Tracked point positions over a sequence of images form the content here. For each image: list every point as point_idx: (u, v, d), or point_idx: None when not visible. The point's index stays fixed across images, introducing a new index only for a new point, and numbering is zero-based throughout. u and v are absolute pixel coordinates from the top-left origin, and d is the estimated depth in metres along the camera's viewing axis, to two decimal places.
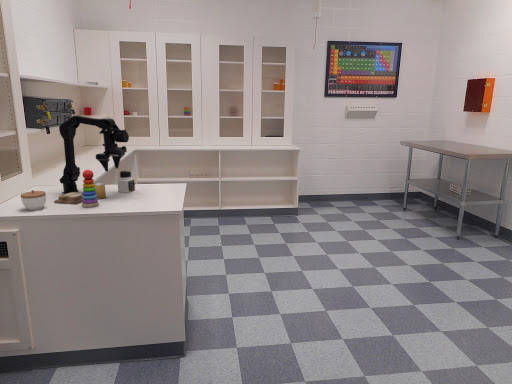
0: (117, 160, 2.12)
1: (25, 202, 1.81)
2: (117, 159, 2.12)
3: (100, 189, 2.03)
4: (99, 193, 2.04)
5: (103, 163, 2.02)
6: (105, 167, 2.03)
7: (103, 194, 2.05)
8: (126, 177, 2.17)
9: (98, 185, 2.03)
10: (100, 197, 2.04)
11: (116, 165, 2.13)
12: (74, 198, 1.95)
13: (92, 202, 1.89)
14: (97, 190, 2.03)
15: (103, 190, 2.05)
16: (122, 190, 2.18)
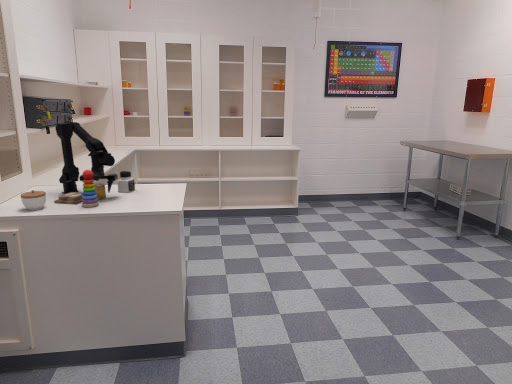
0: None
1: (25, 202, 1.81)
2: None
3: (100, 189, 2.03)
4: (99, 193, 2.04)
5: None
6: None
7: (103, 194, 2.05)
8: (126, 177, 2.17)
9: (98, 185, 2.03)
10: (100, 197, 2.04)
11: None
12: (74, 198, 1.95)
13: (92, 202, 1.89)
14: (97, 190, 2.03)
15: (103, 190, 2.05)
16: (122, 190, 2.18)
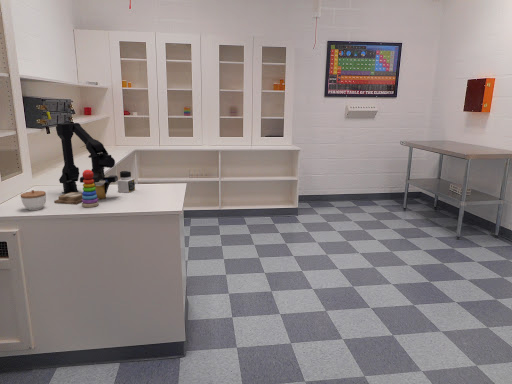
0: None
1: (25, 202, 1.81)
2: None
3: (100, 189, 2.03)
4: (99, 193, 2.04)
5: None
6: None
7: (103, 194, 2.05)
8: (126, 177, 2.17)
9: (98, 185, 2.03)
10: (100, 197, 2.04)
11: None
12: (74, 198, 1.95)
13: (92, 202, 1.89)
14: (97, 190, 2.03)
15: (103, 190, 2.05)
16: (122, 190, 2.18)
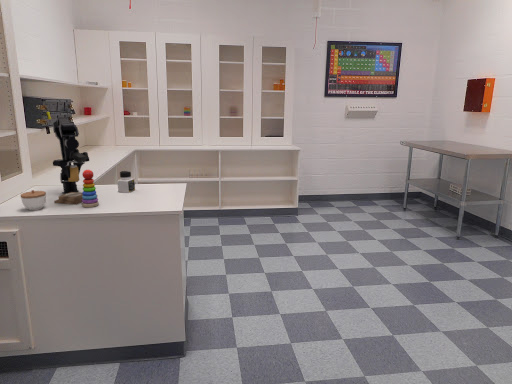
0: (78, 167, 2.00)
1: (25, 202, 1.81)
2: (78, 166, 2.00)
3: (77, 170, 1.98)
4: (77, 175, 1.98)
5: (65, 169, 1.94)
6: (67, 173, 1.95)
7: (78, 175, 2.00)
8: (126, 177, 2.17)
9: (75, 166, 1.96)
10: (78, 179, 1.98)
11: None
12: (74, 198, 1.95)
13: (92, 202, 1.89)
14: (75, 172, 1.96)
15: None
16: (122, 190, 2.18)
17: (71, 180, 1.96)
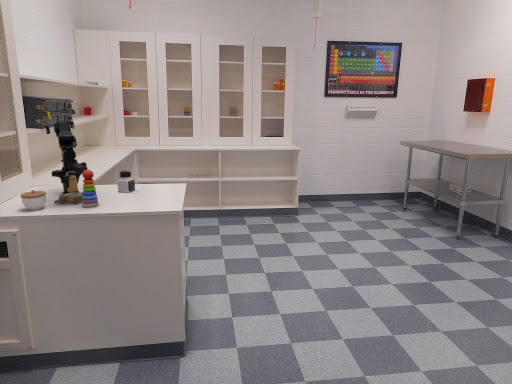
0: None
1: (25, 202, 1.81)
2: (76, 176, 2.01)
3: (76, 180, 1.99)
4: (76, 185, 1.99)
5: (63, 179, 1.95)
6: (65, 183, 1.95)
7: None
8: (126, 177, 2.17)
9: (74, 177, 1.97)
10: (77, 189, 1.99)
11: None
12: (74, 198, 1.95)
13: (92, 202, 1.89)
14: (74, 182, 1.97)
15: None
16: (122, 190, 2.18)
17: (70, 190, 1.97)
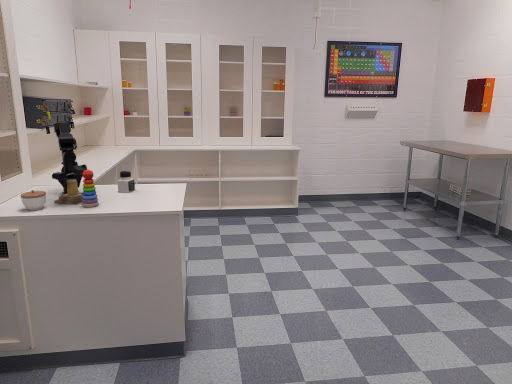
0: (78, 179, 2.02)
1: (25, 202, 1.81)
2: (78, 178, 2.02)
3: (76, 184, 1.99)
4: (76, 189, 1.99)
5: (62, 182, 1.94)
6: (64, 186, 1.95)
7: (77, 189, 2.01)
8: (126, 177, 2.17)
9: (74, 181, 1.98)
10: (77, 193, 2.00)
11: (77, 184, 2.03)
12: (74, 198, 1.95)
13: (92, 202, 1.89)
14: (74, 186, 1.98)
15: None
16: (122, 190, 2.18)
17: (70, 194, 1.98)
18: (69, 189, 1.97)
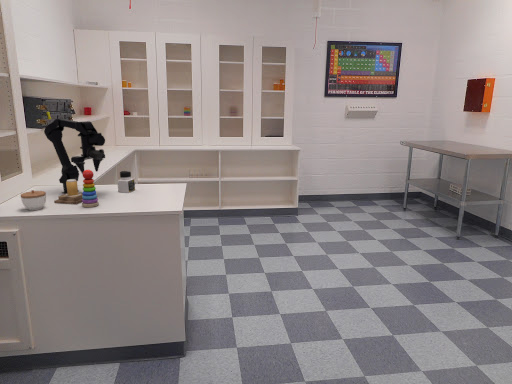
0: (97, 163, 2.11)
1: (25, 202, 1.81)
2: (97, 162, 2.11)
3: (76, 184, 1.99)
4: (76, 189, 1.99)
5: (79, 166, 2.02)
6: (81, 170, 2.03)
7: (77, 189, 2.01)
8: (126, 177, 2.17)
9: (74, 181, 1.98)
10: (77, 193, 2.00)
11: (96, 168, 2.12)
12: (74, 198, 1.95)
13: (92, 202, 1.89)
14: (74, 186, 1.98)
15: None
16: (122, 190, 2.18)
17: (70, 194, 1.98)
18: (69, 189, 1.97)
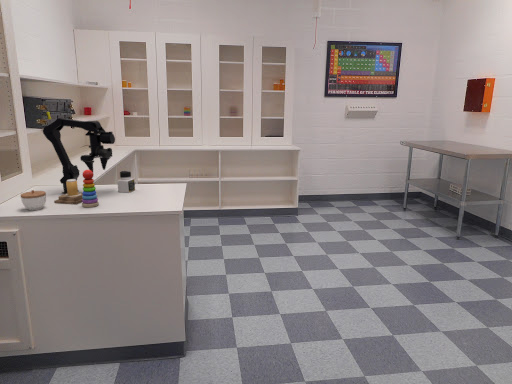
0: (104, 161, 2.16)
1: (25, 202, 1.81)
2: (104, 160, 2.16)
3: (76, 184, 1.99)
4: (76, 189, 1.99)
5: (88, 164, 2.07)
6: (90, 168, 2.08)
7: (77, 189, 2.01)
8: (126, 177, 2.17)
9: (74, 181, 1.98)
10: (77, 193, 2.00)
11: (103, 166, 2.17)
12: (74, 198, 1.95)
13: (92, 202, 1.89)
14: (74, 186, 1.98)
15: None
16: (122, 190, 2.18)
17: (70, 194, 1.98)
18: (69, 189, 1.97)
